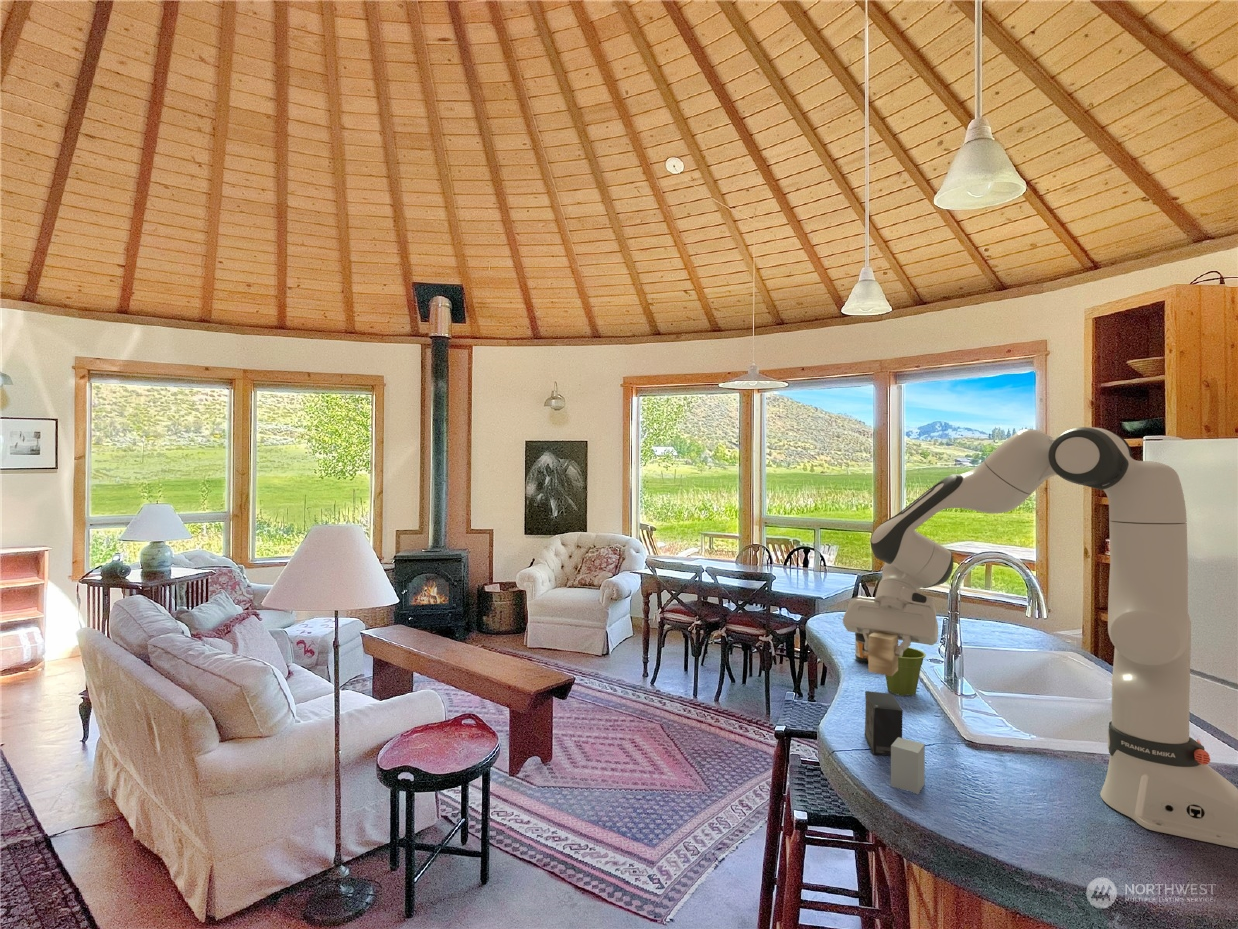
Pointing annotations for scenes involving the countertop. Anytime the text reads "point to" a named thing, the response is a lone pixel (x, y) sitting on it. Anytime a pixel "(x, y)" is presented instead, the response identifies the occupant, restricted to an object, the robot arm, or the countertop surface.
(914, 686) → the plant pot
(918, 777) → the grey box
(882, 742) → the small box
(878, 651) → the maple block
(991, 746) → the countertop surface
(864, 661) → the supplement container
